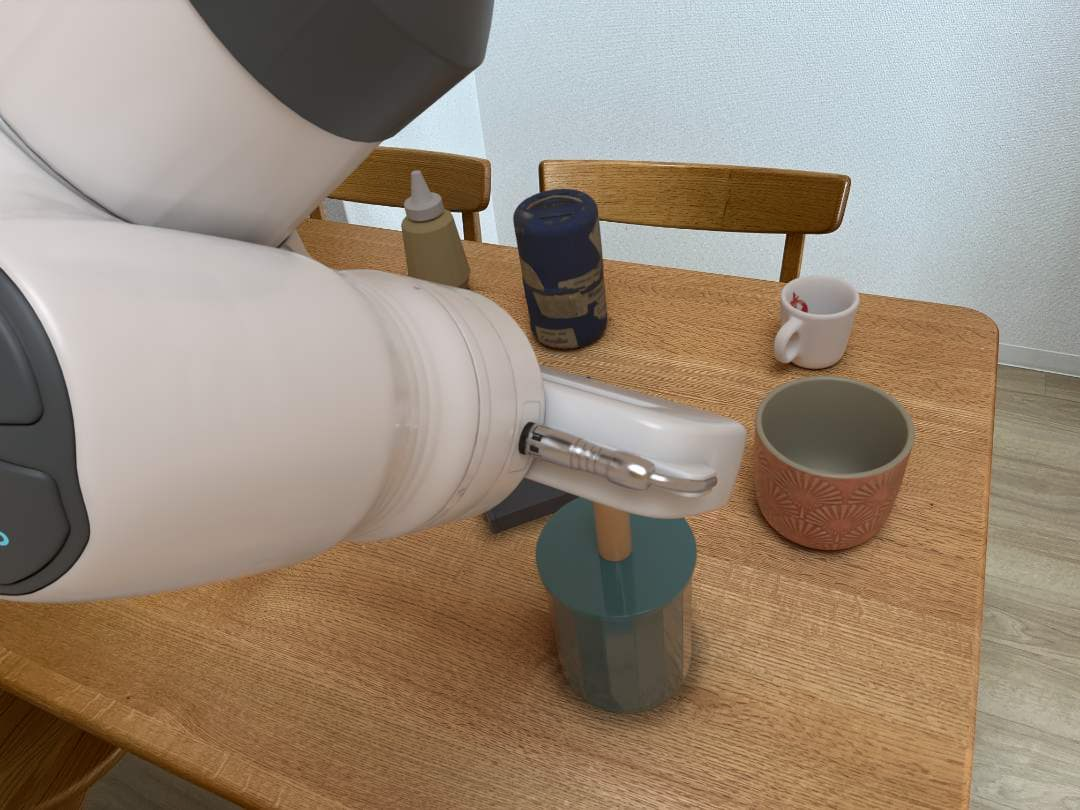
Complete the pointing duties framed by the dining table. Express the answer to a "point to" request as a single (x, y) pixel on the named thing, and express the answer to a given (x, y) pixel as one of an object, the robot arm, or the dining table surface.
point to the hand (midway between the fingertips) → (572, 401)
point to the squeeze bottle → (432, 238)
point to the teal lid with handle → (614, 561)
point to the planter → (830, 459)
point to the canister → (562, 267)
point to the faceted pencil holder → (625, 655)
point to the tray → (527, 504)
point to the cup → (815, 321)
